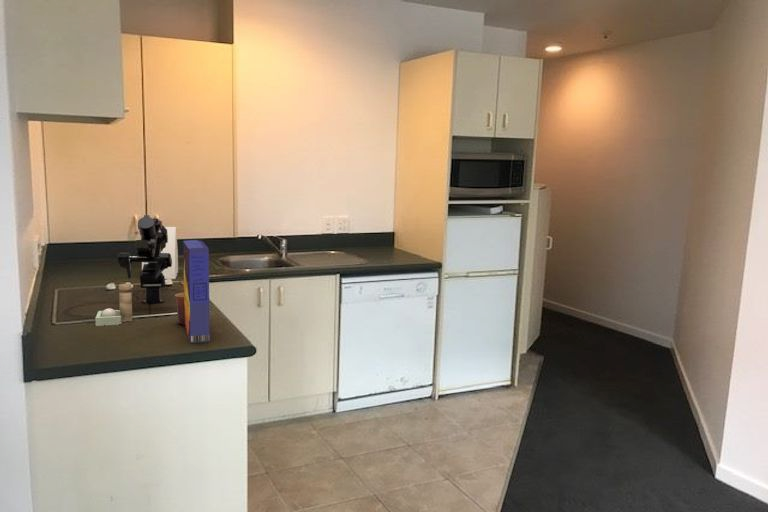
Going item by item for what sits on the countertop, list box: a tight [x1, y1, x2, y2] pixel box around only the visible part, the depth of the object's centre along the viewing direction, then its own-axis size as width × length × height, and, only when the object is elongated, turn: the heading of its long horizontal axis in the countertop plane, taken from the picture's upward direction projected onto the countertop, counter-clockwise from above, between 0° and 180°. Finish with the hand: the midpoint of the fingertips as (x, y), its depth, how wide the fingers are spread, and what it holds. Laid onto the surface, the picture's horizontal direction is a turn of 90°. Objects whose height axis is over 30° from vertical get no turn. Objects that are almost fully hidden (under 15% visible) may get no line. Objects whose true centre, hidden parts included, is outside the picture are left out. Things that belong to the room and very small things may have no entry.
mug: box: [174, 292, 185, 326], centre depth 215 cm, size 12×9×10 cm
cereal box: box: [182, 239, 211, 344], centre depth 199 cm, size 22×6×30 cm, turn 22°
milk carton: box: [141, 226, 179, 280], centre depth 308 cm, size 19×15×25 cm
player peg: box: [118, 283, 133, 323], centre depth 215 cm, size 4×4×13 cm
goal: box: [95, 309, 122, 327], centre depth 214 cm, size 11×8×3 cm
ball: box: [102, 307, 116, 317], centre depth 214 cm, size 5×5×5 cm
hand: (142, 278), depth 225 cm, fingers open, 9 cm apart
